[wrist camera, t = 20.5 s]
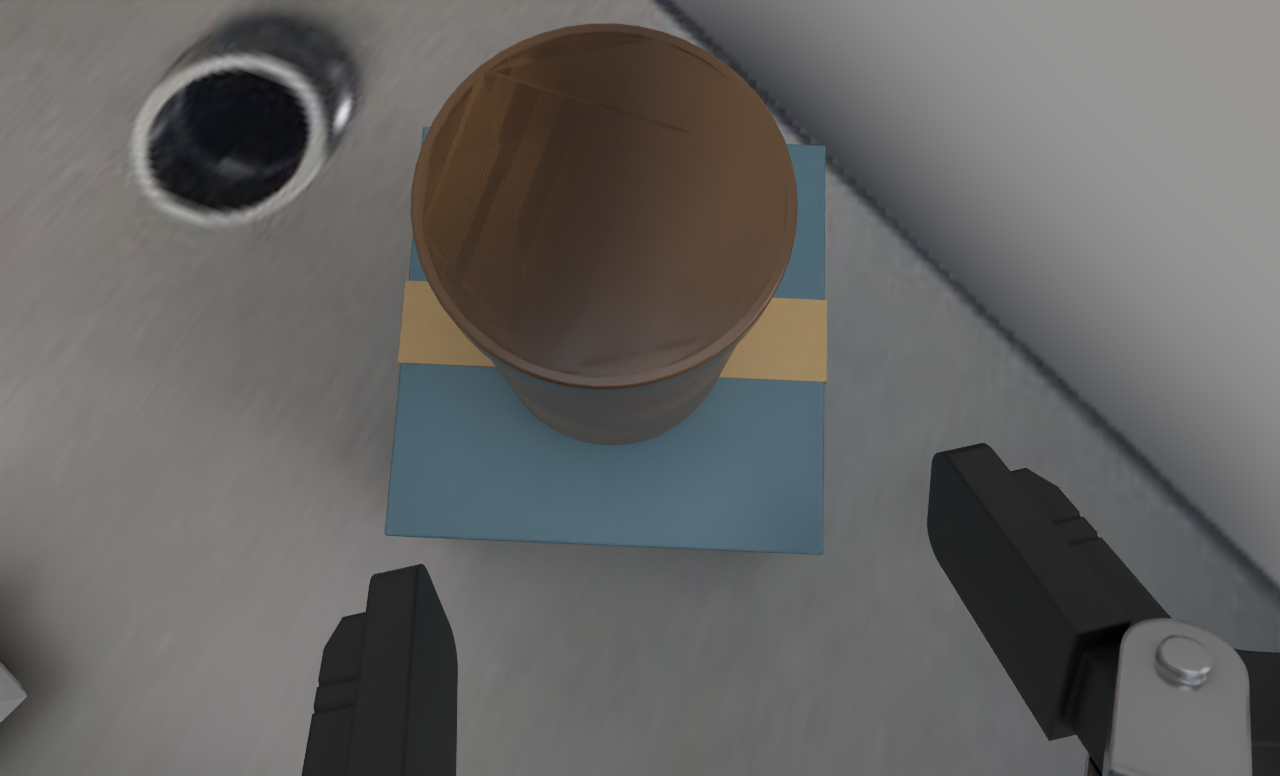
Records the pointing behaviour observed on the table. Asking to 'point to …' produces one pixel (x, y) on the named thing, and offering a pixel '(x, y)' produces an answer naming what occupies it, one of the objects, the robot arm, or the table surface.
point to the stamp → (9, 692)
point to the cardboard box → (630, 473)
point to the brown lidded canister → (605, 223)
